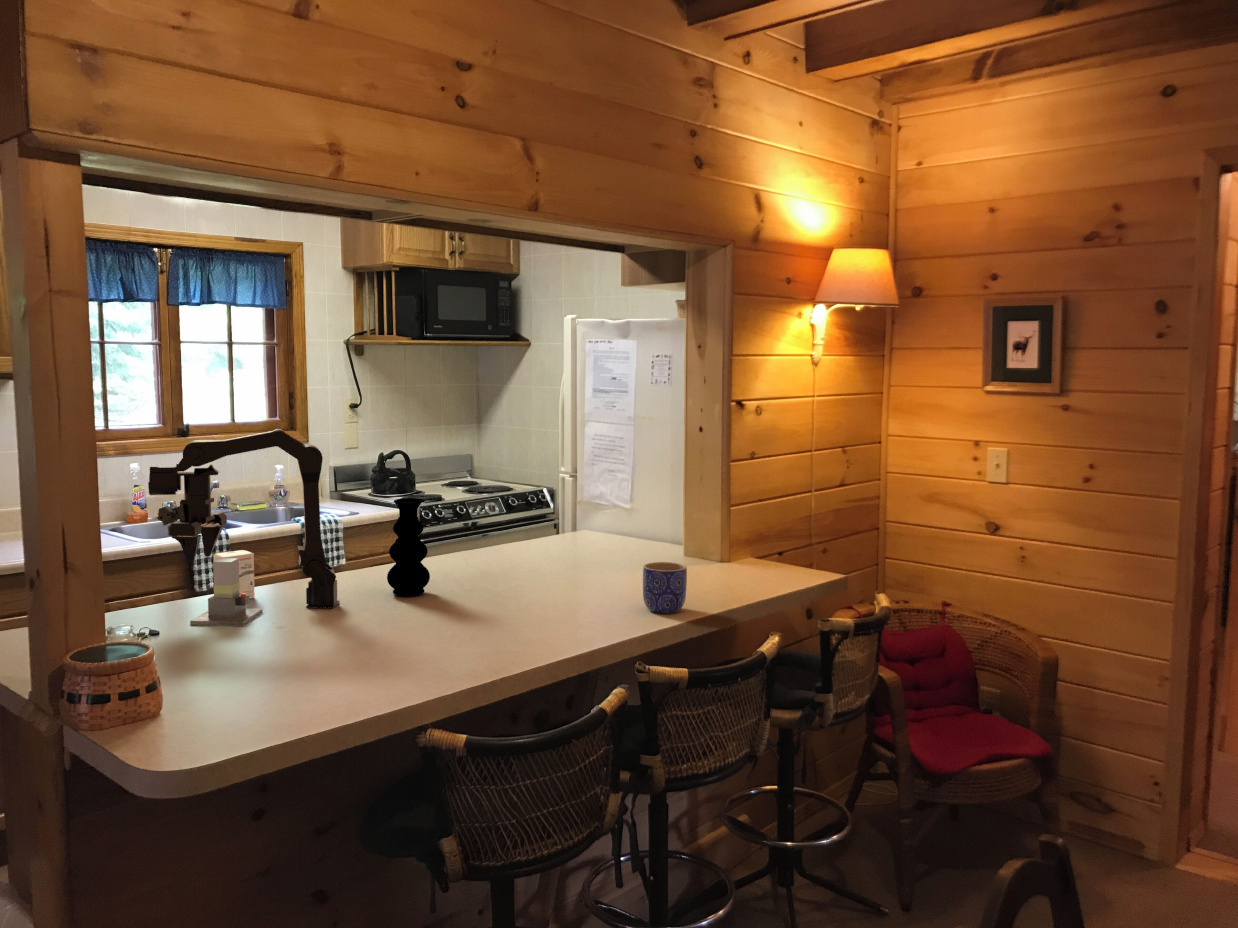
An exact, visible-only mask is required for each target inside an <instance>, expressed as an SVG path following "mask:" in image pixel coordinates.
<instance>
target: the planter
mask: <svg viewBox="0 0 1238 928" xmlns="http://www.w3.org/2000/svg"><path fill="white" fill-rule="evenodd" d="M687 585H688V567H687V566H686V565H685V564H682V563H677V562H671V561H670V562H669V561H668V562H667V561H658V562H657V561H656V562H648V563H646V564H645V563H644V565H643V566H642V599H643V602H644V605H645V607H646V608H647V609H648V610H649V611H650V612H652V613H656V614H660V615H661V614H662V615H663V614H664V615H666V614H667V615H668V614H670V615H671V614H675V613H677V612H679V611H681V609H682V608H683V607H684V605H685V604H686V600H687V599H686V598H687V591H688V590H687V589H688V588H687V587H688V586H687Z"/></svg>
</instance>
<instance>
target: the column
mask: <svg viewBox="0 0 1238 928" xmlns="http://www.w3.org/2000/svg"><path fill="white" fill-rule="evenodd" d="M212 563H213V566H212V567H213V596H214V598H235V597H237V596H238V595H239V590H240V582H239V558H220V559H218V560H216V561H214V560H213V562H212Z"/></svg>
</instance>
